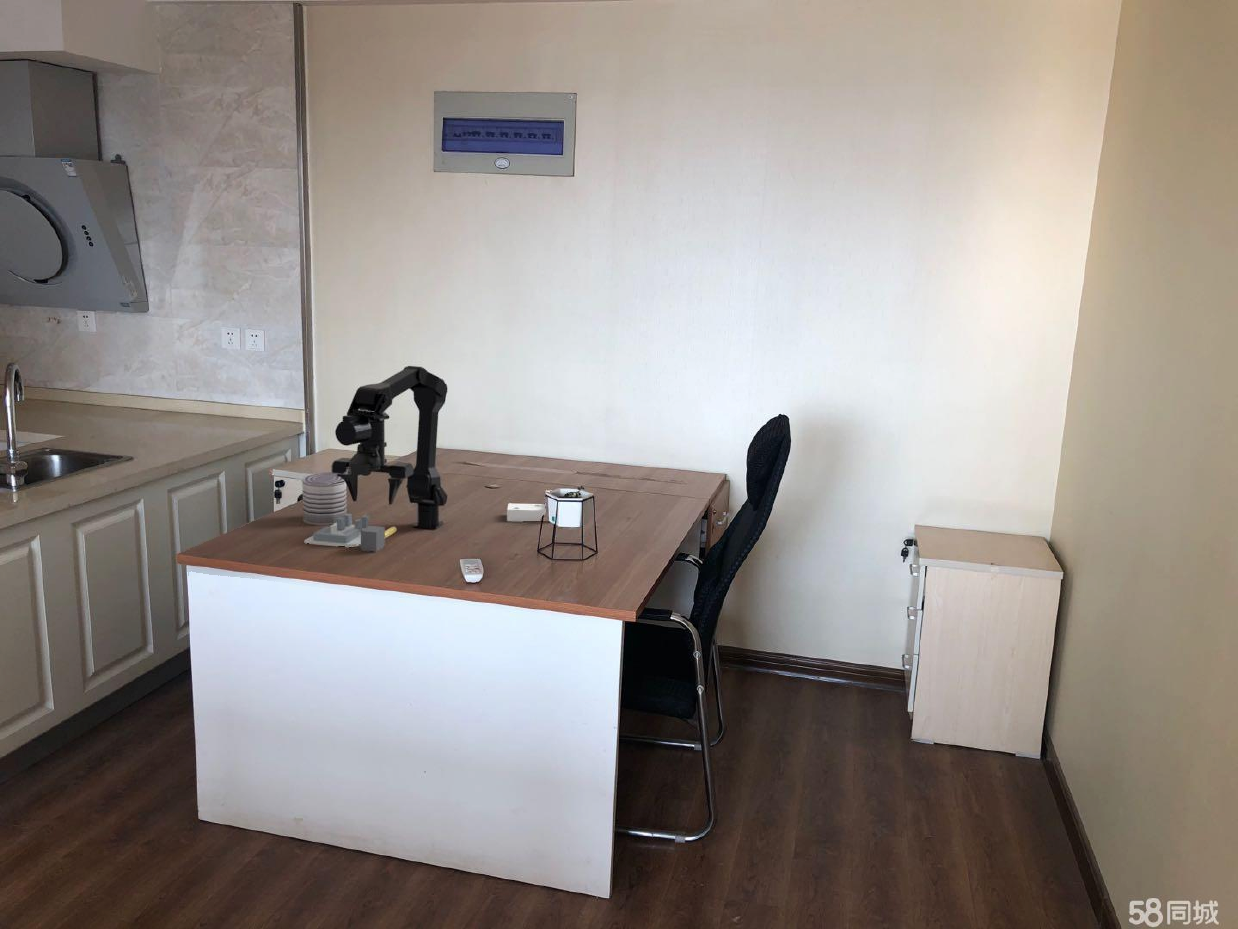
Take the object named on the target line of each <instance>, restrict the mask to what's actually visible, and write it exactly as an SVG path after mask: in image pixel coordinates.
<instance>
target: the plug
mask: <svg viewBox="0 0 1238 929" xmlns="http://www.w3.org/2000/svg"><path fill="white" fill-rule="evenodd" d="M397 530H398V529H397V527H396V526H391V527H389V528H387V529H386V527H385V526H375V525H369V526H368V527H367V528H365V529H363V530H361V544H360V551H361V550H362V551H361V552H369V551H373V552H372V553H377V551H378V550H379V551H381V550H382V549H383V547H384V546H385V547H386V538H389V537H390V536H391V535H393V534H395V533H396V532H397ZM385 547H384V548H385ZM381 548H382V549H381ZM380 549H381V550H380ZM379 551H378V552H379Z"/></svg>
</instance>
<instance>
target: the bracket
mask: <svg viewBox="0 0 1238 929" xmlns="http://www.w3.org/2000/svg"><path fill="white" fill-rule="evenodd" d="M550 491H551V490H545V493H546V492H550ZM544 502H545V503H541V504H540V503H511V502H510V503H508V504H507V512H506V513H507V514H506V522H523V521H540V519H541V517H542V516H543V515H545V513H546V509H545V506H546V498H545V501H544Z"/></svg>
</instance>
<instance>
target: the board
mask: <svg viewBox="0 0 1238 929" xmlns="http://www.w3.org/2000/svg"><path fill="white" fill-rule="evenodd" d="M368 526H370V515H369V514H368V515H367V514H364V515H362V516H361V518H357V519H355V520H354V524H353V514H352V513H347V514H346V515H344V518H342V517H340V518H338V519H337V523H335V524H333V525H325V526H324V527H322V528H320V529H319V530H316V531H315V532H312V533H313V534H312V535H311V536H309V537H307V538H306V539H304V544H307V543H309V544H308V545H318V546H330V547H338V546H345V547H344V548H349V547H355V546H356V547H358V546H360V545H361V530H363V529H365V528H367V527H368ZM359 544H360V545H359ZM356 547H355V548H356Z"/></svg>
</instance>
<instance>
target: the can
mask: <svg viewBox="0 0 1238 929" xmlns="http://www.w3.org/2000/svg"><path fill="white" fill-rule="evenodd" d="M337 474H338V473H332V471H330V472H329V471H325V472H316V473H312V474H308V475H304V476H303V478H302V480H301V482H302V484H301V486H302V517H303V518H302V520H303V522H305V523H306V524H308V525H313V524H314V525H316V526H330V525H329V524H335V523H337V519H338V518H340V517H342V518H344V515H346V514H348V511H347V509H348V508H347V507H348V506H347V505H348V504H347V503H348V502H347V484H346V483H345V481H344V480H343V479H342V478H341V477H338V476H337ZM314 525H313V526H314Z"/></svg>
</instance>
